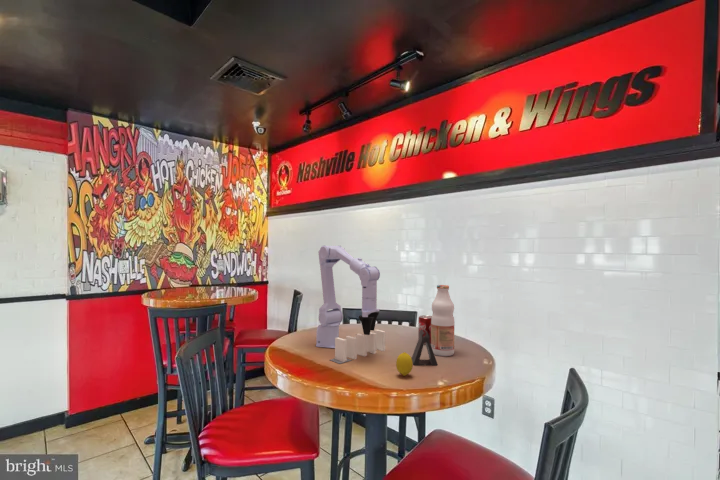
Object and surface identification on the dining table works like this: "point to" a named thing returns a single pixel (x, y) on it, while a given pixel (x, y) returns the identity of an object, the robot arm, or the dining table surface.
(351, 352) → the tile
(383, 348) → the head tile
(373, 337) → the tile
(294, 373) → the dining table surface
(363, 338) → the tile
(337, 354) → the tile
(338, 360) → the end marker
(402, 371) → the lemon
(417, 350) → the phone stand
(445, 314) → the fruit juice
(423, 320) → the soda can
